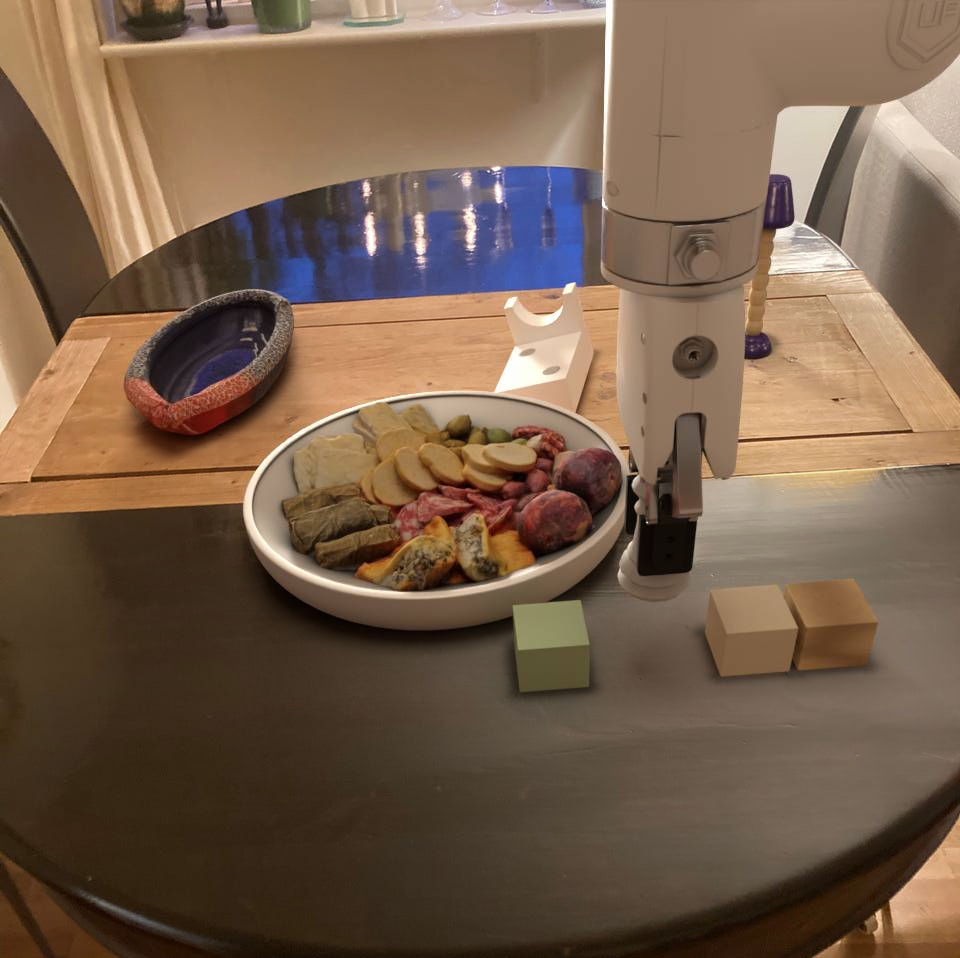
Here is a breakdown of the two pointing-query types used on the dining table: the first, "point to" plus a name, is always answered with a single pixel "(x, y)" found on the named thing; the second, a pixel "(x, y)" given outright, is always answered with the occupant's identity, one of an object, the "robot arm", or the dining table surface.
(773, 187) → the toy lamp
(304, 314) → the dining table surface
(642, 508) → the rook chess piece
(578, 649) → the sage block
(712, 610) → the cream block
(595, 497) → the bowl
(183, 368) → the dish
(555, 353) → the bracket
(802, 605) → the birch block
